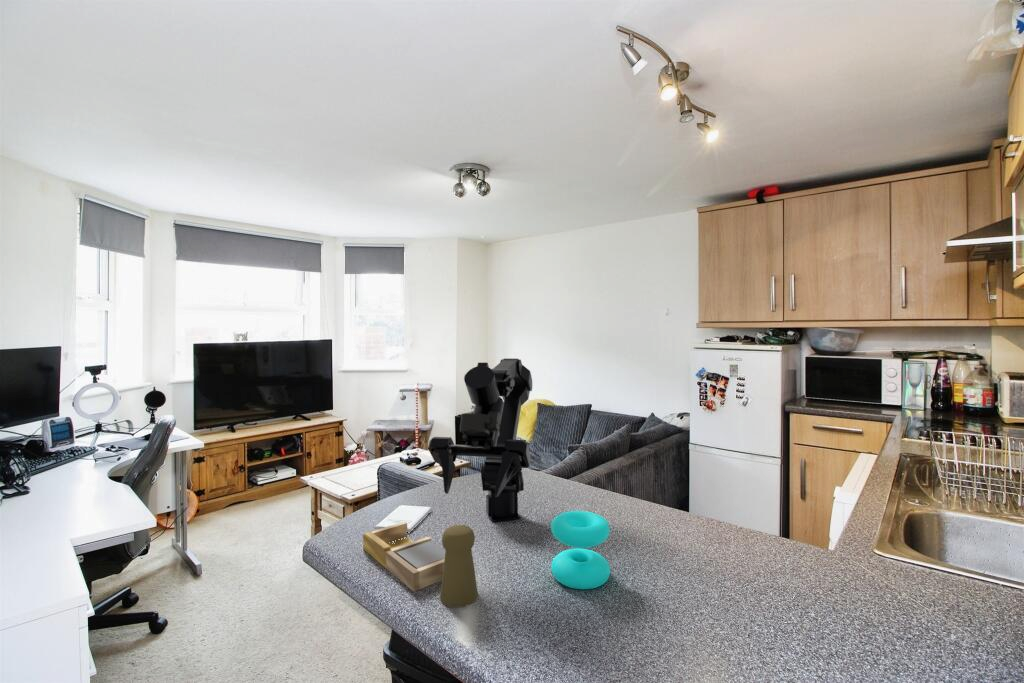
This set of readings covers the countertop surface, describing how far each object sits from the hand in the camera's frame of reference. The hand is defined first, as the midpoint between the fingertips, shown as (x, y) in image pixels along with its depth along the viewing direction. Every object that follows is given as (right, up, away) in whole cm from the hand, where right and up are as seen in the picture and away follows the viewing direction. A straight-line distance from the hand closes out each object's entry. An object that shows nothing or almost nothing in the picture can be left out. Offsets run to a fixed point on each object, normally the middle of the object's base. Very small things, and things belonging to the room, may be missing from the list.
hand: (470, 494), depth 83 cm
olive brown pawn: (-1, -14, -8) cm, 16 cm away
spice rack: (-11, -14, +5) cm, 18 cm away
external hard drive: (-17, -14, +23) cm, 32 cm away
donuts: (+19, -14, -2) cm, 24 cm away
